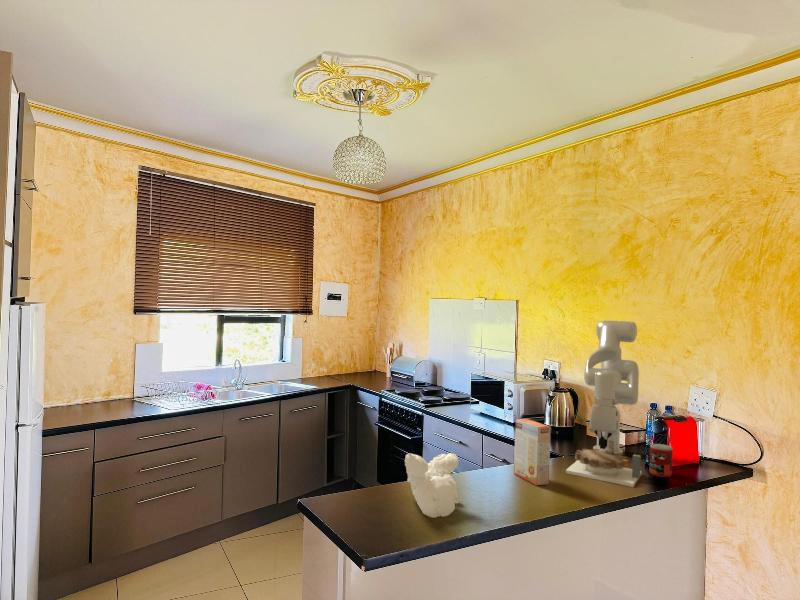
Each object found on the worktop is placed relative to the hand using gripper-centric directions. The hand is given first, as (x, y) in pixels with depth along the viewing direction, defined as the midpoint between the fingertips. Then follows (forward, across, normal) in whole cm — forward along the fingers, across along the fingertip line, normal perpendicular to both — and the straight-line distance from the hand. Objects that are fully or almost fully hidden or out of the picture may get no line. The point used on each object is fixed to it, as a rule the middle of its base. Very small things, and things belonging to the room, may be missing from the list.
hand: (602, 448), depth 201 cm
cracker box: (+8, +18, +32) cm, 38 cm away
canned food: (+9, -20, -9) cm, 23 cm away
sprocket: (+4, -1, +6) cm, 7 cm away
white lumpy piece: (+8, +33, +78) cm, 85 cm away
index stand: (+8, -2, +6) cm, 10 cm away
